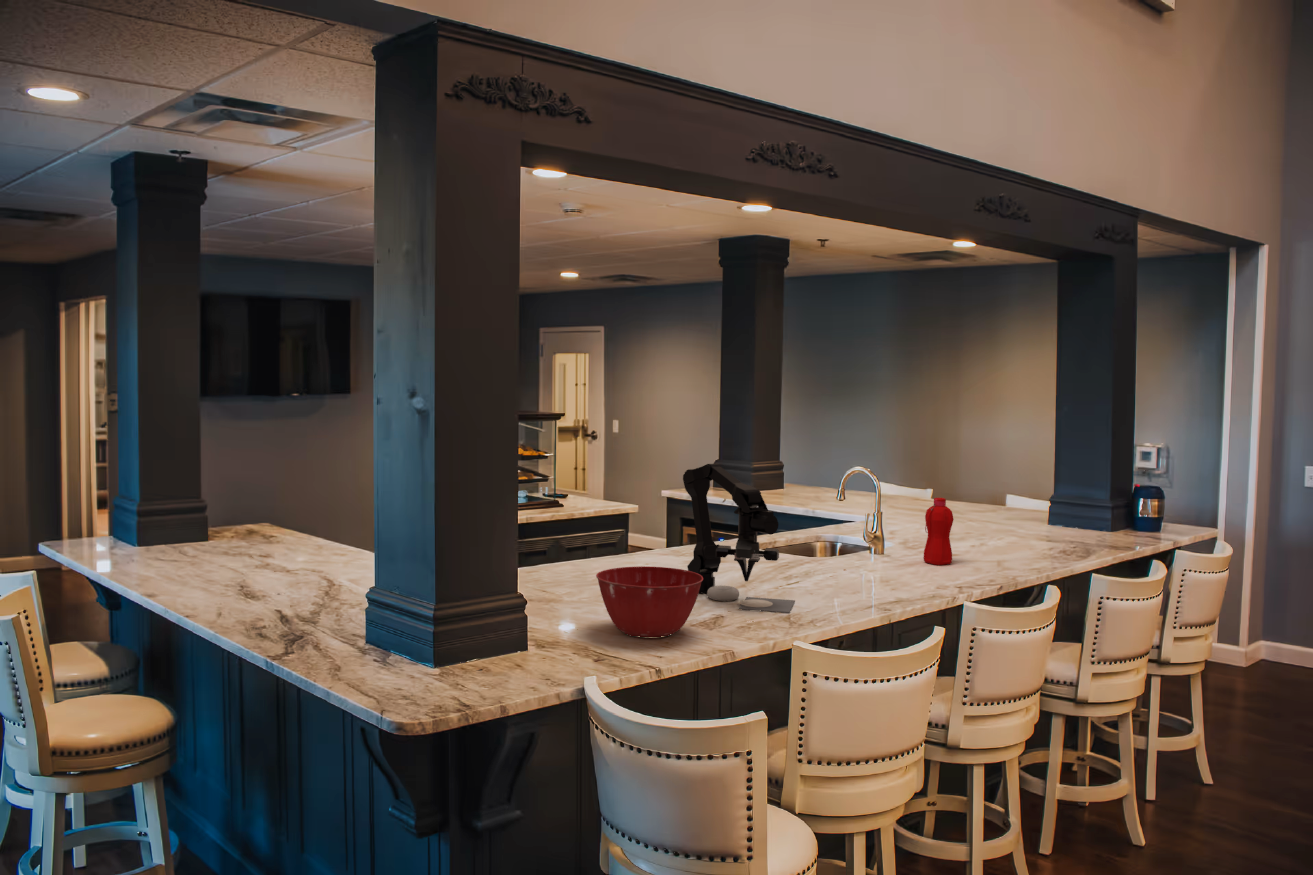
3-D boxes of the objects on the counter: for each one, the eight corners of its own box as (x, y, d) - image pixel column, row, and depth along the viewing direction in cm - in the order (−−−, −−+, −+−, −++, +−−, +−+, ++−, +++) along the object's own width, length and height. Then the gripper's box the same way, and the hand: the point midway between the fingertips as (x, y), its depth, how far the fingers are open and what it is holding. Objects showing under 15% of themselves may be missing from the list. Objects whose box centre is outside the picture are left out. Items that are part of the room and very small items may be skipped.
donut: (745, 601, 297) (729, 593, 307) (745, 590, 297) (729, 583, 306) (716, 603, 293) (701, 596, 302) (716, 592, 293) (701, 585, 302)
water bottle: (916, 562, 368) (918, 497, 367) (938, 560, 373) (941, 496, 372) (932, 566, 360) (935, 499, 359) (955, 564, 365) (957, 498, 363)
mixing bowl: (642, 614, 278) (643, 560, 277) (723, 631, 260) (724, 574, 259) (573, 632, 256) (574, 575, 255) (656, 653, 238) (657, 591, 237)
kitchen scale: (735, 609, 286) (735, 607, 286) (743, 597, 301) (743, 596, 301) (789, 613, 282) (789, 611, 282) (795, 601, 298) (795, 599, 298)
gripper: (712, 532, 286) (711, 584, 287) (775, 535, 282) (774, 588, 283) (719, 526, 297) (717, 577, 298) (779, 530, 293) (778, 581, 294)
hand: (746, 581), depth 293 cm, fingers closed
